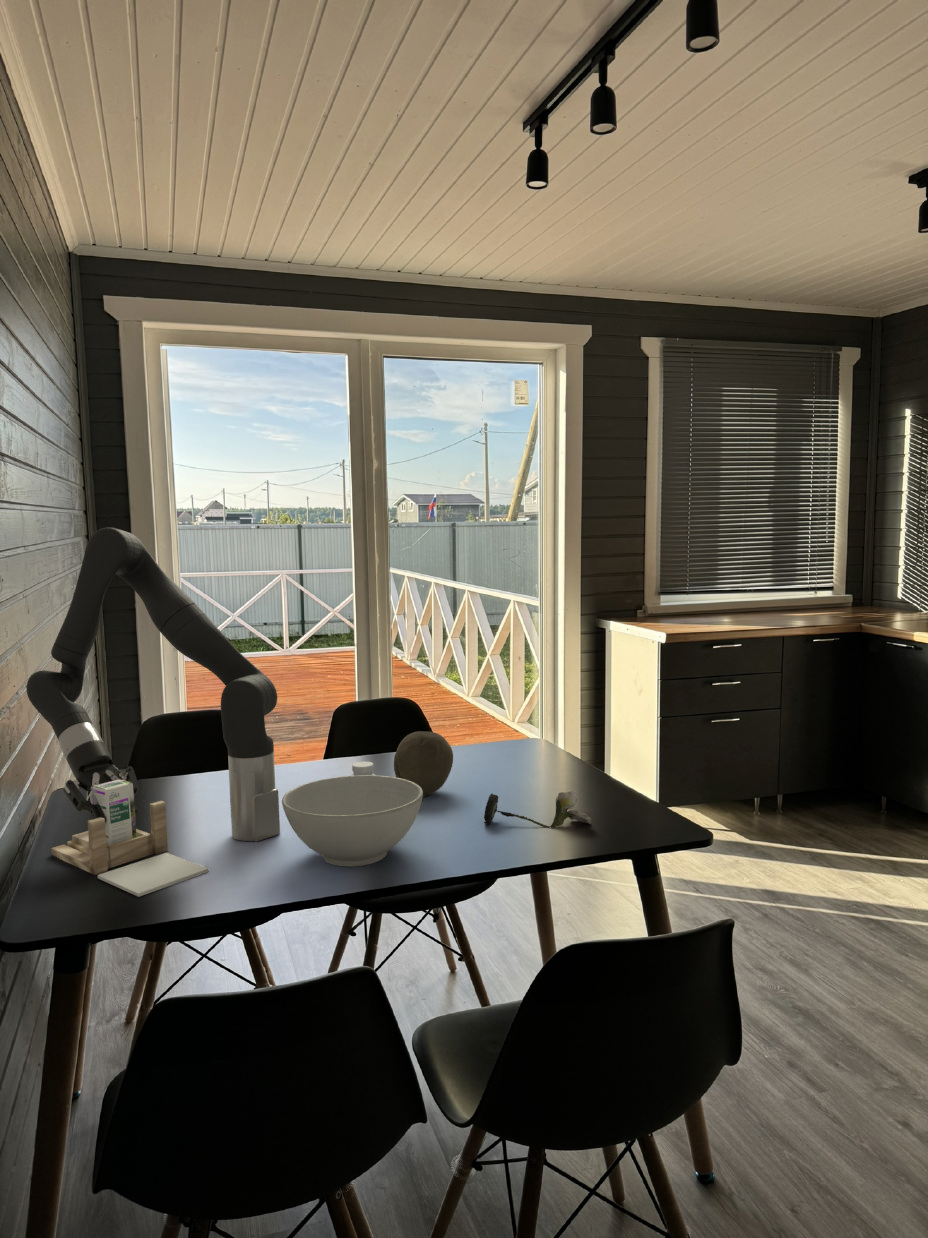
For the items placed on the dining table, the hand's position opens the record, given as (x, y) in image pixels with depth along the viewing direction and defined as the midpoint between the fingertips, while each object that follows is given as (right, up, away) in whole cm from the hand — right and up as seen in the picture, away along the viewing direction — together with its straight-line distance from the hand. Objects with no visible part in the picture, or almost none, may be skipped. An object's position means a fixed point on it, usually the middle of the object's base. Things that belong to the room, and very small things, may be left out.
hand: (119, 819), depth 165 cm
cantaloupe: (+58, -3, +39) cm, 69 cm away
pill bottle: (+45, -5, +23) cm, 51 cm away
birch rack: (-3, -8, +3) cm, 9 cm away
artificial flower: (+83, -5, +15) cm, 85 cm away
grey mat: (+10, -8, -8) cm, 15 cm away
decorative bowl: (+46, -7, -1) cm, 46 cm away
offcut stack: (-7, -7, +6) cm, 12 cm away
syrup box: (-1, -8, +2) cm, 8 cm away
